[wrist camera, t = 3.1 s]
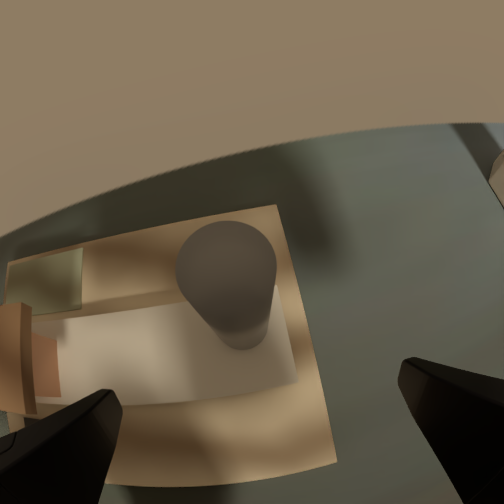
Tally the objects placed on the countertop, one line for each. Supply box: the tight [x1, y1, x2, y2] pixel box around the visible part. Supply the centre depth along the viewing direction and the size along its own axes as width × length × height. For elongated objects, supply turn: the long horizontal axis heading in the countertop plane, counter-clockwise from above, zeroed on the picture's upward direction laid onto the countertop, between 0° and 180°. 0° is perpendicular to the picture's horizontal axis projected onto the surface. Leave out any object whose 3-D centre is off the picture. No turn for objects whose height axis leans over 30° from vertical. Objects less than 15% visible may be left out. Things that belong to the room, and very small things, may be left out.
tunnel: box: [0, 302, 37, 414], centre depth 14 cm, size 6×8×7 cm
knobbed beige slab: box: [31, 221, 299, 405], centre depth 12 cm, size 6×20×10 cm, turn 101°
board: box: [3, 204, 337, 487], centre depth 18 cm, size 18×25×1 cm
